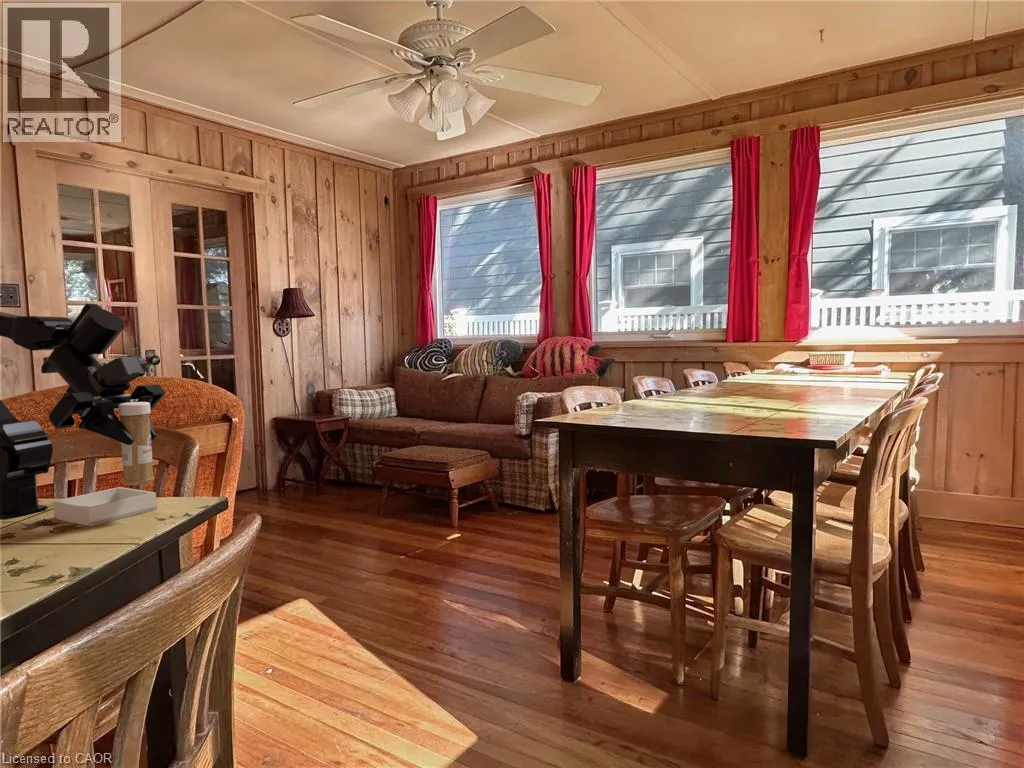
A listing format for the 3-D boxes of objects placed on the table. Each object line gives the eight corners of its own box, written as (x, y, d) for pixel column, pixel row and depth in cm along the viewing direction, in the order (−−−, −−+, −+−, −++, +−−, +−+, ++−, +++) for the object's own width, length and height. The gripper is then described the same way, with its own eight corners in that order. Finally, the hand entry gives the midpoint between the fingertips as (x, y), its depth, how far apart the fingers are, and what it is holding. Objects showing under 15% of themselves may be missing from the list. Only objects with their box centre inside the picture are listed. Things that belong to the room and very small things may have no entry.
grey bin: (54, 518, 107) (53, 501, 107) (120, 503, 117) (119, 486, 117) (90, 526, 102) (88, 508, 102) (156, 509, 112) (155, 492, 111)
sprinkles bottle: (155, 483, 106) (151, 402, 105) (123, 487, 103) (118, 404, 102) (152, 478, 110) (149, 400, 109) (121, 481, 107) (117, 402, 106)
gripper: (59, 340, 96) (124, 414, 95) (153, 339, 115) (209, 401, 113) (20, 391, 99) (83, 464, 97) (119, 382, 117) (173, 444, 115)
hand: (143, 440), depth 106 cm, fingers closed on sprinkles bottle, 4 cm apart
